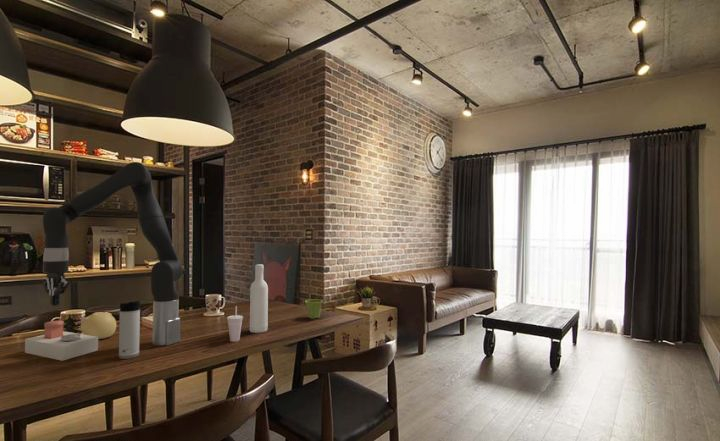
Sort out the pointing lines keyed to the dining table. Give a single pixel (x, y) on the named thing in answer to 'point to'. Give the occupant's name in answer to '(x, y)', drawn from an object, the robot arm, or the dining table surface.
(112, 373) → the dining table surface
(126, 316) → the travel mug
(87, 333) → the pale yellow round lump
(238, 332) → the smoothie
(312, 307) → the plant pot
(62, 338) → the grey cube
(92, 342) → the socket panel
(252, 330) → the bottle
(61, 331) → the pink gift box
